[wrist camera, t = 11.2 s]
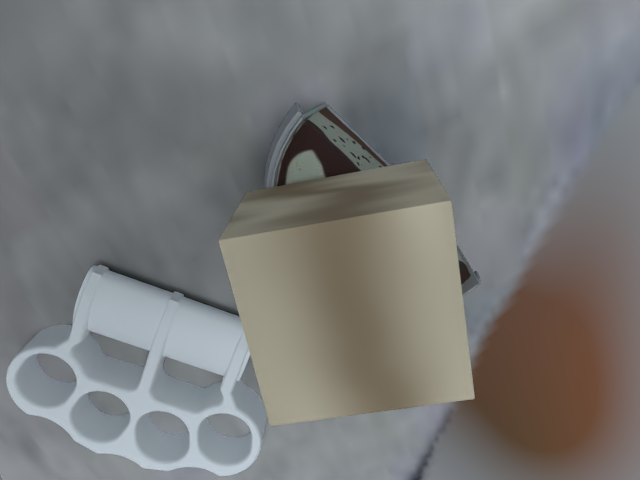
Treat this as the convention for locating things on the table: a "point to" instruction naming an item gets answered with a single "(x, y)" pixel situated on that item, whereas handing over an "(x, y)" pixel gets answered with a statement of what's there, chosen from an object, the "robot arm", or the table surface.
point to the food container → (329, 158)
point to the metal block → (350, 293)
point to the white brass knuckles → (144, 376)
